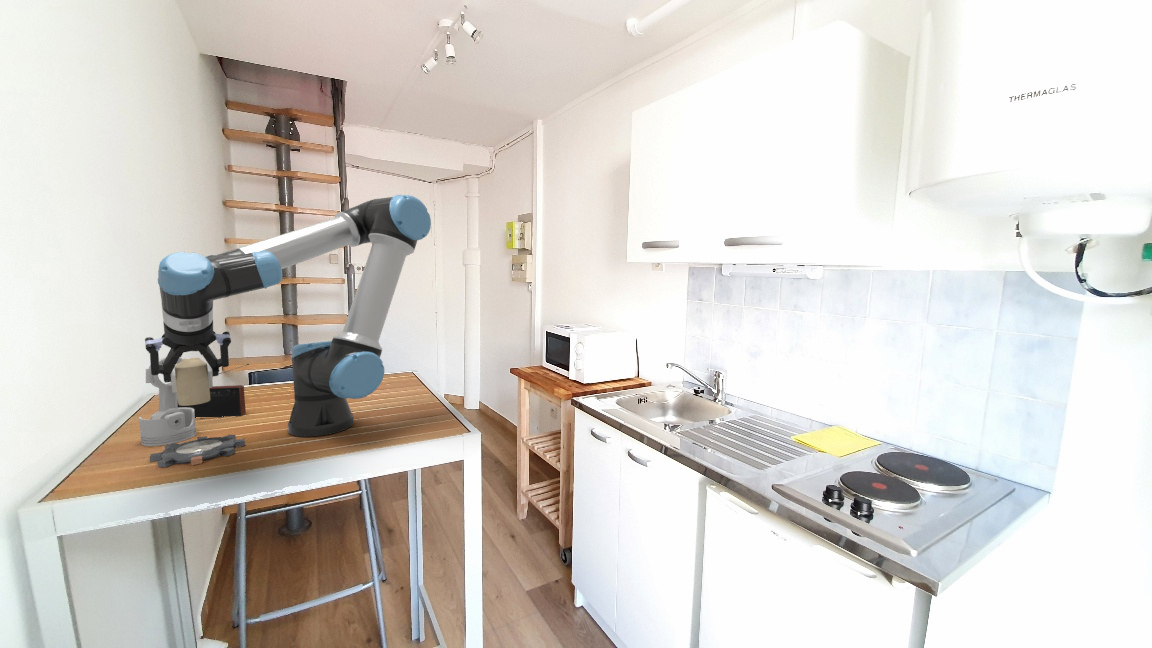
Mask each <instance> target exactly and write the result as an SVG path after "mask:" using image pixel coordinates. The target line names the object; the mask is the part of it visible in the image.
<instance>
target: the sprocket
mask: <svg viewBox="0 0 1152 648" xmlns="http://www.w3.org/2000/svg"><path fill="white" fill-rule="evenodd" d="M245 444H246V440H245V438H241V439H237V436H236V434H227V435H224V436H216V437H215V436H213V437H208V435H206V436H205V435H204V436H199V437H197V439H192V440H189V441H188V440H187V441H185V442H184V441H183V442H182V443H181V442H180V443H173V444H168V445H164V450H163V451H161V452H156V453H151V454H150V455H149V462H150V463H152V462H157V468H168V467H170V466H173V465H183V464H184V465H185V464H190V466H196V465H201V464H203V463H202V462H204V461H209V460H211V459H215V458H219V457H229V456H232V455H234V454H236V448H239V447H244V446H246V445H245Z"/></svg>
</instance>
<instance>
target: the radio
mask: <svg viewBox="0 0 1152 648" xmlns="http://www.w3.org/2000/svg"><path fill="white" fill-rule="evenodd" d="M249 365H250V364H249V363H246V364H244V365H241V366H237V367H235V368H231V369H229V370H226V371H222V372H220V373H219V375H222V374H223V373H226V372H230V371H233V370H236V369H239V368H242V367H245V366H249ZM209 390H210V401H208V402H206V403H202V404H197V405H189V406H181V405H179V404H178V408H183V407H186V408H193V409H194V413H195V418H196V417H218V418H225V417H224V416H236V417H241V415H242V416H243V415H246V411H247V410H246V398H245V397H246V396H245V386H244V385H243V384H242V385H236V384H235V385H218V386H213V387H211V388H209ZM222 416H223V417H222Z"/></svg>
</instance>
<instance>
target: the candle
mask: <svg viewBox="0 0 1152 648" xmlns="http://www.w3.org/2000/svg"><path fill="white" fill-rule="evenodd" d="M182 359H183V360H182V361H181V362H180V363H178V364H176V365H175V367H174V368H175V376H176V388H177V397H178V404H179V405H181V406H189V405H197V404H202V403H206V402H208V401H210V390H209V380H208V370H207V362H206V361H204V360H203V359H201V358H200V357H191V358H182Z"/></svg>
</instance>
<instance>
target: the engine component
mask: <svg viewBox="0 0 1152 648" xmlns="http://www.w3.org/2000/svg"><path fill="white" fill-rule="evenodd" d="M166 357H167V355H163V356H160V357H159V365H162V362H163V363H164V361H165V359H166ZM183 359H184V358H182V357H180V358H179V359H178V361H177V363H176V365H177V364H178V363H180V362H181V361H182V360H183ZM148 366H149V367H148V368H146V369H145V384H151V385H152V386H153V387H155V388H157V389H158V411H156V412H155V413H153V414H151V416H150V419H147V418H146V419H145V418H143V417H142V416H139V417H138V421H139V422H138V424H139V431H140V432H139V433H140V435H139V436H140V444H141V445H142V446H143V447H144V446H145V447H160V446H167V445H170V444H173V443H174V444H179V443H181V442H182V443H183V442H184V441H185V442H186V441H188V440H190V438H191V439H193V438H194V437H196V436H195V435H197V426H196V425H197V424H196V419H195V413H194V409H193V408H186V407H183V408H178V397H177V392H174V393H172V384H171V382H167V383H165V382H163V381H161V379H160V376H159V374H158V375H152V374H151V365H148ZM192 437H193V438H192Z"/></svg>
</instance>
